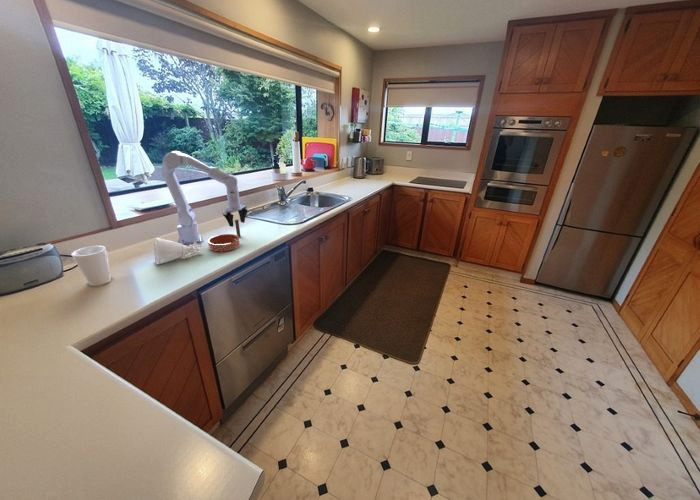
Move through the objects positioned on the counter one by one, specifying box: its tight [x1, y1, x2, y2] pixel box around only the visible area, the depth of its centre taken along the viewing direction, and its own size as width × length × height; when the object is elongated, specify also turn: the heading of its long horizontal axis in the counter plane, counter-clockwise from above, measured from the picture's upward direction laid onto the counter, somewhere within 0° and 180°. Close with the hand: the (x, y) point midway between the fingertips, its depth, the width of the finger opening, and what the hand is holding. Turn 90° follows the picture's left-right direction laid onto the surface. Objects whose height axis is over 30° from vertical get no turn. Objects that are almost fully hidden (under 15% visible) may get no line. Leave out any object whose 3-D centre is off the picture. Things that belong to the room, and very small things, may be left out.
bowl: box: [207, 233, 241, 253], centre depth 140 cm, size 14×14×4 cm
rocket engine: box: [153, 237, 203, 265], centre depth 126 cm, size 12×12×18 cm
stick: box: [234, 218, 242, 238], centre depth 151 cm, size 2×2×10 cm
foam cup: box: [70, 245, 112, 287], centre depth 104 cm, size 10×9×13 cm
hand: (237, 224), depth 150 cm, fingers open, 7 cm apart
